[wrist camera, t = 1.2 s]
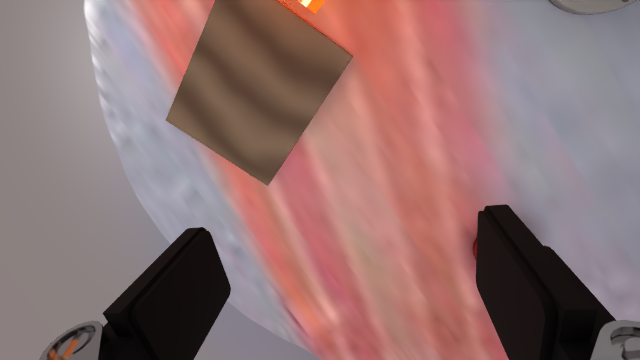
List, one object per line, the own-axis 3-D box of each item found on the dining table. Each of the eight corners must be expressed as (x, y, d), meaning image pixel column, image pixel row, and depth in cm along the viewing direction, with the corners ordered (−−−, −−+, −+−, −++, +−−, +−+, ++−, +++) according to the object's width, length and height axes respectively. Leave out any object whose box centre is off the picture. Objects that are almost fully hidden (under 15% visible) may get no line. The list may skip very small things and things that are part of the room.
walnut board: (235, -31, 33) (229, -34, 31) (352, 56, 35) (352, 56, 33) (172, 118, 41) (165, 120, 39) (270, 181, 43) (267, 185, 41)
